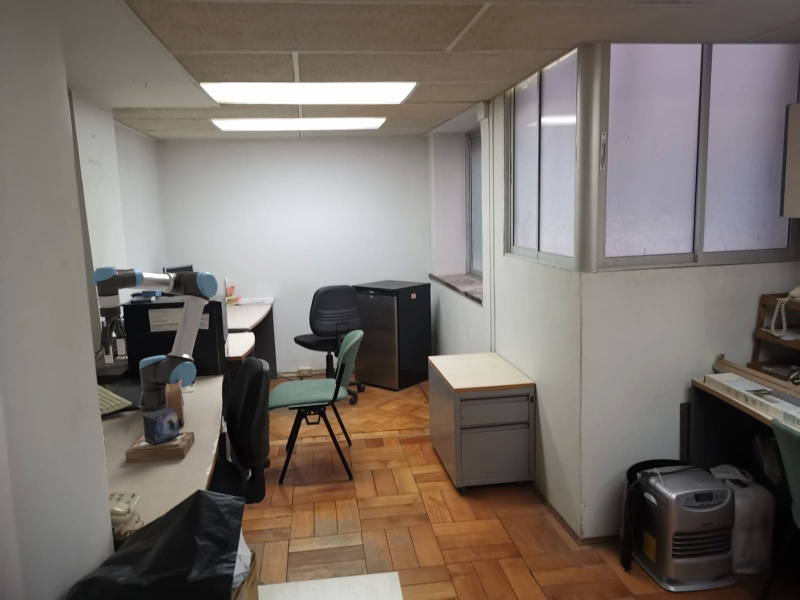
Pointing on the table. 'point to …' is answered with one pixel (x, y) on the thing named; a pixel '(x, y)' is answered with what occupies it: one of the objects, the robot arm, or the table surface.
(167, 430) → the small box
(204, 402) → the table surface
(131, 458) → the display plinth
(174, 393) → the face sculpture
